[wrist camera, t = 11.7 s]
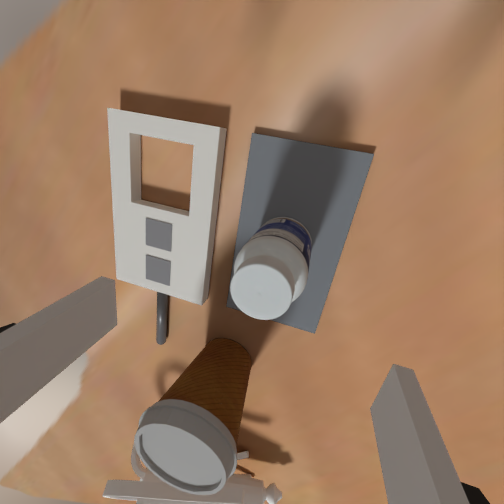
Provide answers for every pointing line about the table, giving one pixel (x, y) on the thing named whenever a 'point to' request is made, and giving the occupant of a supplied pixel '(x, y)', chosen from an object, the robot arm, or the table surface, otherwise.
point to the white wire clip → (173, 500)
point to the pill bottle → (272, 268)
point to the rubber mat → (303, 208)
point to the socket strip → (164, 211)
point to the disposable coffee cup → (198, 421)
